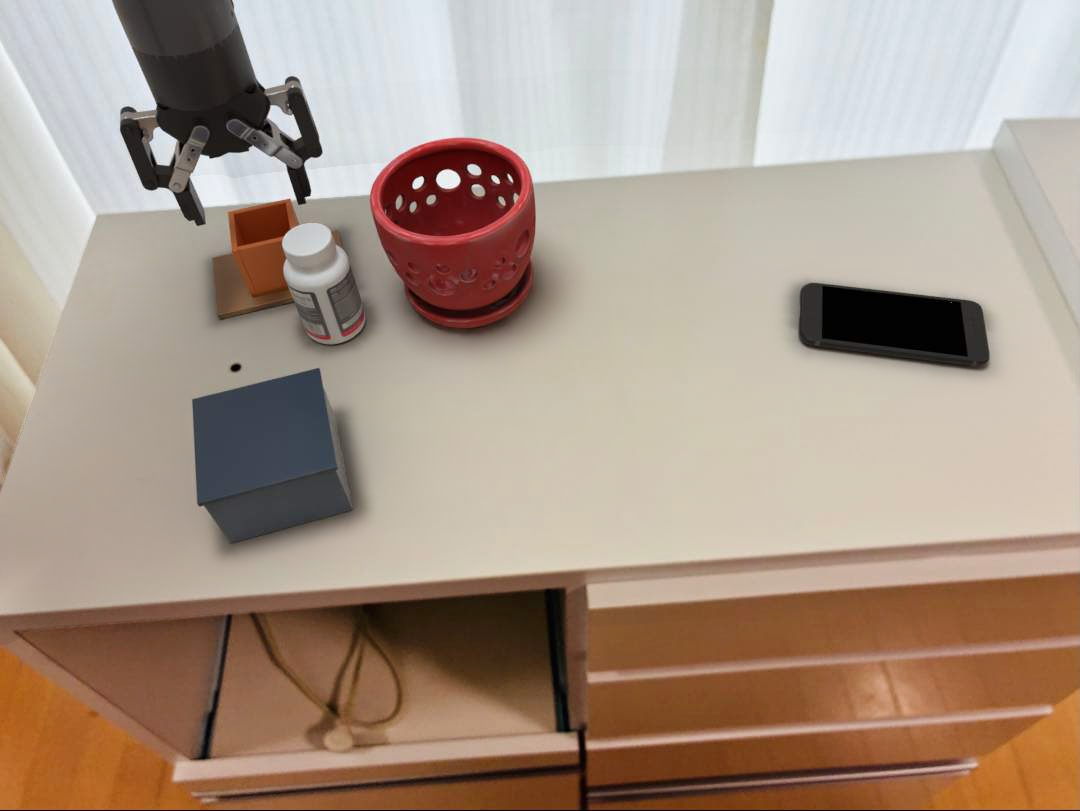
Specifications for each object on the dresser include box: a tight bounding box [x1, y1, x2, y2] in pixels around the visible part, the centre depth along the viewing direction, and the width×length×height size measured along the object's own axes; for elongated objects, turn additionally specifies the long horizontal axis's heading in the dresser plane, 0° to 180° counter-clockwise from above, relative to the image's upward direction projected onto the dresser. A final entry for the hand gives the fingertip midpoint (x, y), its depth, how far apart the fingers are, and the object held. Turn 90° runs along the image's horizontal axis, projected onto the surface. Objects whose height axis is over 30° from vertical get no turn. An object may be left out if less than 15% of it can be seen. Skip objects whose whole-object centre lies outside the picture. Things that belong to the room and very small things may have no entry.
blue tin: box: [191, 367, 354, 544], centre depth 61 cm, size 9×9×6 cm
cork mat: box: [211, 229, 343, 320], centre depth 77 cm, size 12×8×1 cm, turn 107°
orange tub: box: [227, 198, 300, 297], centre depth 74 cm, size 6×6×6 cm
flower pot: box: [369, 137, 537, 329], centre depth 70 cm, size 13×13×12 cm
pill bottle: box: [282, 222, 367, 345], centre depth 69 cm, size 5×5×10 cm
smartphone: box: [798, 282, 991, 367], centre depth 69 cm, size 7×15×1 cm, turn 78°
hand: (252, 209), depth 71 cm, fingers open, 8 cm apart
